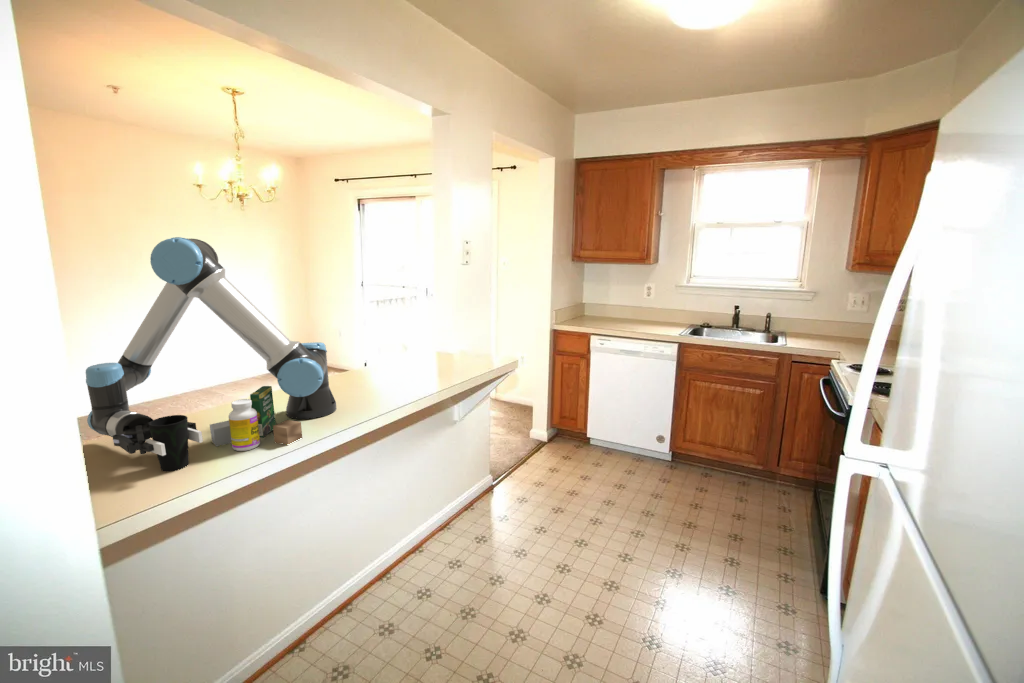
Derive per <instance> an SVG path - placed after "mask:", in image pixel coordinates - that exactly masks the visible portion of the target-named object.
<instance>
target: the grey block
mask: <svg viewBox="0 0 1024 683" xmlns="http://www.w3.org/2000/svg"><path fill="white" fill-rule="evenodd" d="M209 430H210V438H211V442H212V444H213V445H214V444H215V445H214V446H215V447H219V446H220V445H221V446H224V445H229V444H232V441H231V432H230V424H229V419H228V420H224V421H220V422H216V423H215V422H214V423H210V424H209Z"/></svg>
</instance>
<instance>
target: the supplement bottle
mask: <svg viewBox="0 0 1024 683" xmlns="http://www.w3.org/2000/svg"><path fill="white" fill-rule="evenodd" d="M251 406H252V401H251V400H250V398H241V399H236V400H234V401H232V402H231V409H232V411H231V412H230V413H229V414H228V420H229V424H230V432H231V441H232V443H231V446H232V447H231V448H232V449H233V450H234V451H236V452H245V451H250V450H254V449H256V448H257V447H259V446H260V444H261V437H260V436H259V427H258V418H257V411H256V410H255V409H253V408H251Z"/></svg>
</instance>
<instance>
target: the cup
mask: <svg viewBox="0 0 1024 683" xmlns="http://www.w3.org/2000/svg"><path fill="white" fill-rule="evenodd" d="M188 422H189V421H188V416H187V415H183V414H173V415H166V416H161V417H158V418H155V419H153V420H152V421H151V422H150V423H149V424H148V425H149V429H150V432H151V436H152V438H151V440H154V441H157V442H160V443H163V444H164V445H165V451H166V455H164V456H161V455H158V454H156V457H157V461H158V463H159V466H160V469H161V471H162V472H166V473H167V472H168V473H169V472H175V470H176V471H179V470H182V469H184V468H186V467H188V466H189V464H190V461H189V460H190V458H189V439H188ZM187 465H188V466H187ZM185 466H186V467H185ZM183 467H184V468H183ZM181 468H182V469H181ZM178 469H179V470H178Z"/></svg>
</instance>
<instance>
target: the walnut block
mask: <svg viewBox="0 0 1024 683" xmlns="http://www.w3.org/2000/svg"><path fill="white" fill-rule="evenodd" d="M272 431H273V440H274V443H275V442H276V443H275V444H279V443H283V444H282V445H284V444H290V443H292V442H294V441H296V440H298V439H300V438H302V439H303V431H302V421H297V420H290V419H287V420H284V421H281V422H279V423H276V425H274V426H273V430H272ZM298 441H299V440H298ZM296 442H297V441H296ZM294 443H295V442H294ZM292 444H293V443H292ZM290 445H291V444H290Z"/></svg>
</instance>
